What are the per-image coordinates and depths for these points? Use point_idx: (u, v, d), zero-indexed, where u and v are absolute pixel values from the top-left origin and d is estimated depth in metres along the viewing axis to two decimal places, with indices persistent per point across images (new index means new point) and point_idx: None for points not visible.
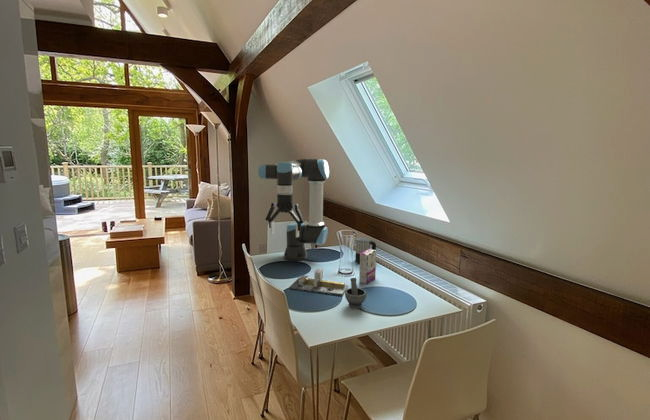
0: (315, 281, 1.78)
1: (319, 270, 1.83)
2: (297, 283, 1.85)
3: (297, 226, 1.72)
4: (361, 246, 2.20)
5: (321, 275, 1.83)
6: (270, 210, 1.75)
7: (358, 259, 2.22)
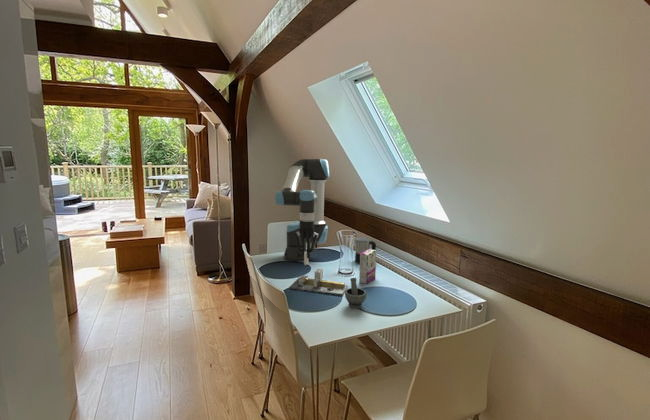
0: (315, 281, 1.78)
1: (319, 270, 1.83)
2: (297, 283, 1.85)
3: (306, 254, 1.82)
4: (361, 246, 2.20)
5: (321, 275, 1.83)
6: (297, 240, 1.82)
7: (358, 259, 2.22)
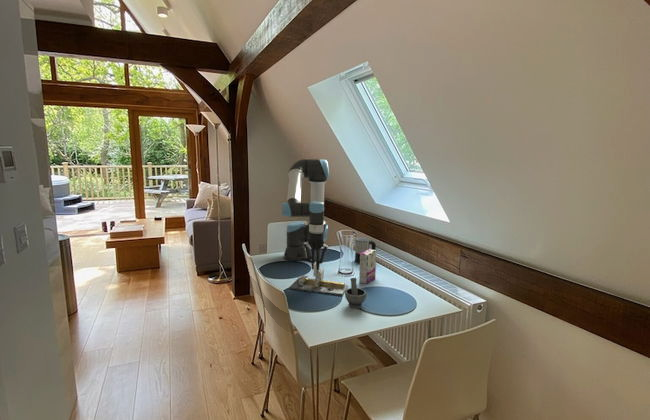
0: (316, 281, 1.78)
1: (320, 270, 1.83)
2: (297, 283, 1.85)
3: (316, 266, 1.82)
4: (360, 246, 2.20)
5: (322, 275, 1.83)
6: (307, 251, 1.82)
7: (358, 259, 2.22)
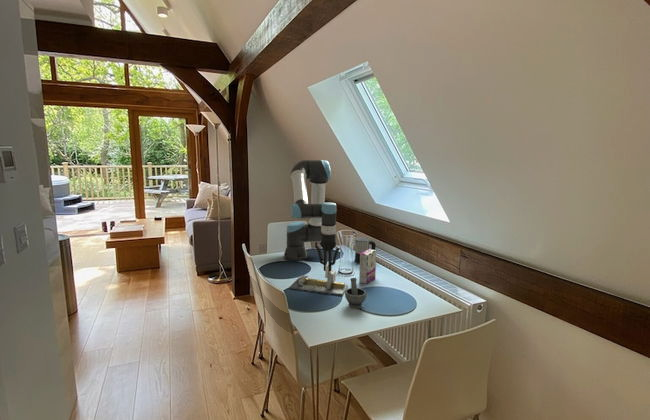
0: (328, 283, 1.76)
1: (332, 272, 1.81)
2: (297, 283, 1.85)
3: (328, 267, 1.80)
4: (360, 246, 2.20)
5: (334, 277, 1.81)
6: (319, 253, 1.80)
7: (357, 259, 2.22)
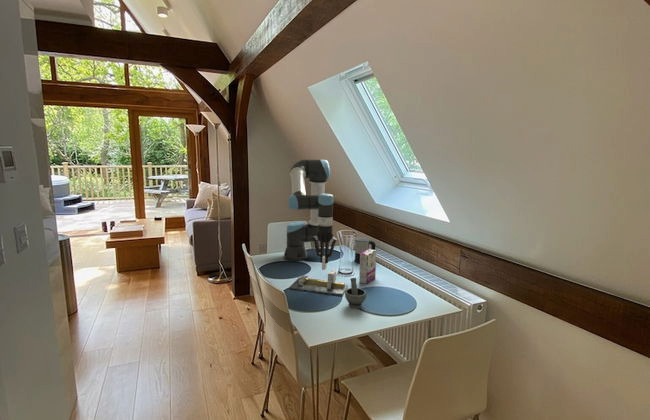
0: (329, 283, 1.76)
1: (332, 272, 1.81)
2: (297, 283, 1.85)
3: (325, 259, 1.79)
4: (360, 246, 2.20)
5: (334, 277, 1.81)
6: (315, 244, 1.79)
7: (357, 259, 2.23)
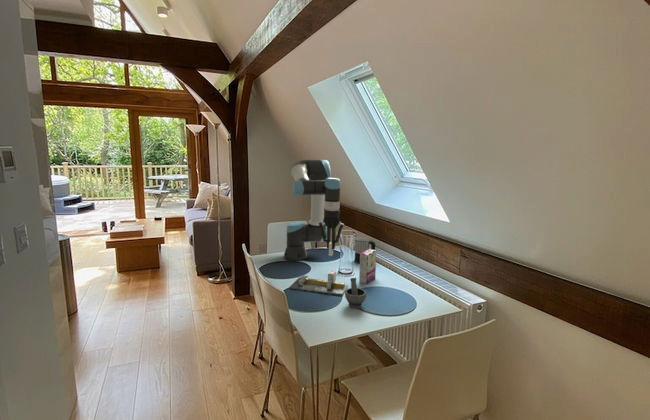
0: (329, 283, 1.76)
1: (332, 272, 1.81)
2: (297, 283, 1.85)
3: (331, 245, 1.75)
4: (360, 246, 2.20)
5: (334, 277, 1.81)
6: (322, 230, 1.75)
7: (357, 259, 2.23)
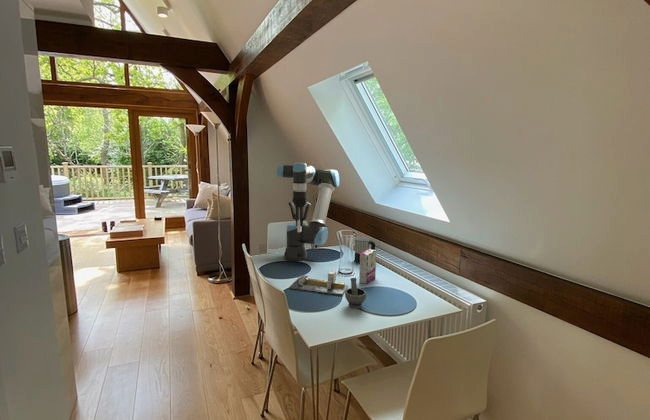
0: (329, 283, 1.76)
1: (332, 272, 1.81)
2: (297, 283, 1.85)
3: (300, 222, 1.98)
4: (360, 246, 2.20)
5: (334, 277, 1.81)
6: (291, 209, 1.98)
7: (357, 259, 2.23)
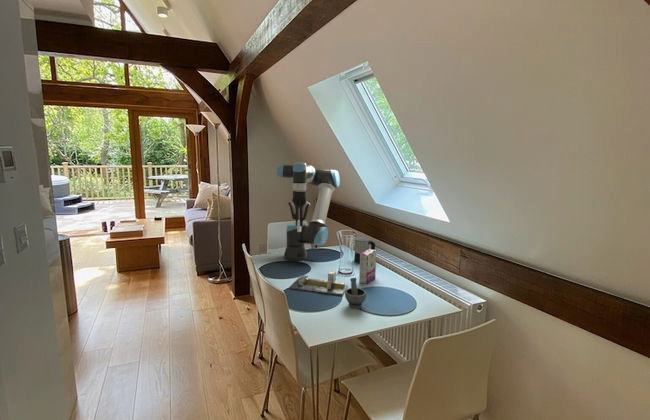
0: (329, 283, 1.76)
1: (332, 272, 1.81)
2: (297, 283, 1.85)
3: (299, 222, 1.98)
4: (360, 246, 2.20)
5: (334, 277, 1.81)
6: (291, 209, 1.98)
7: (357, 259, 2.23)
